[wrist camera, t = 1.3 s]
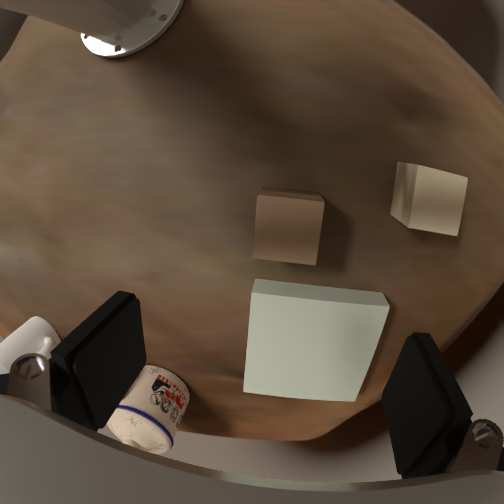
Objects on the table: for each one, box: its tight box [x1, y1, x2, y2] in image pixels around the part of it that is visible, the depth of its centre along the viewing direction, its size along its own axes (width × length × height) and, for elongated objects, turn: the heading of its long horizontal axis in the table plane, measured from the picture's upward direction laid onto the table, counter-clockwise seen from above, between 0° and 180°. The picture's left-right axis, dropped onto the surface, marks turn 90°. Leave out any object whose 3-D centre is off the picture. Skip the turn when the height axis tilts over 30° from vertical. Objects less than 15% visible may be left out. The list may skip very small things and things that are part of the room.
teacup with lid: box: [107, 365, 190, 454], centre depth 31 cm, size 12×9×12 cm
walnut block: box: [252, 187, 325, 265], centre depth 25 cm, size 5×5×5 cm
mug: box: [0, 316, 61, 374], centre depth 32 cm, size 8×12×12 cm
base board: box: [243, 279, 390, 401], centre depth 30 cm, size 13×13×3 cm
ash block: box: [390, 162, 468, 236], centre depth 22 cm, size 5×5×5 cm
